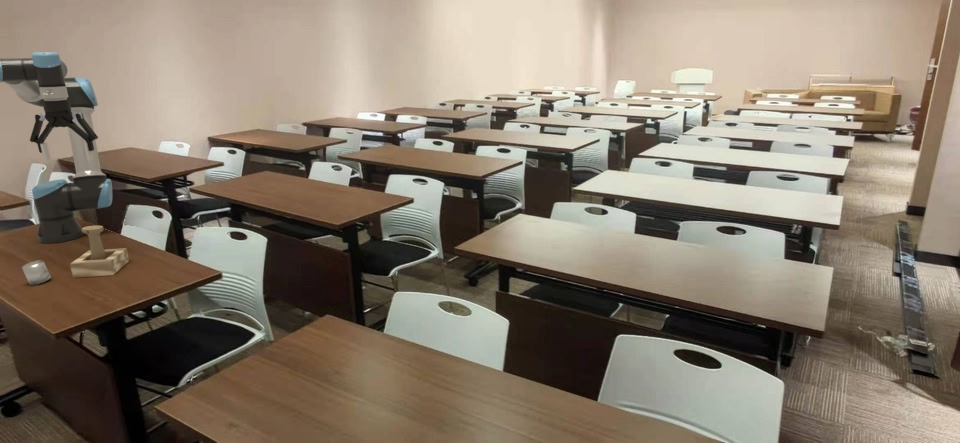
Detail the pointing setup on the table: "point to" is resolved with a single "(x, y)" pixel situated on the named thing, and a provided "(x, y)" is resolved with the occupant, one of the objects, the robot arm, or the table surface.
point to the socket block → (99, 263)
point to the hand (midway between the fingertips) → (69, 161)
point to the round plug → (36, 272)
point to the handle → (95, 241)
